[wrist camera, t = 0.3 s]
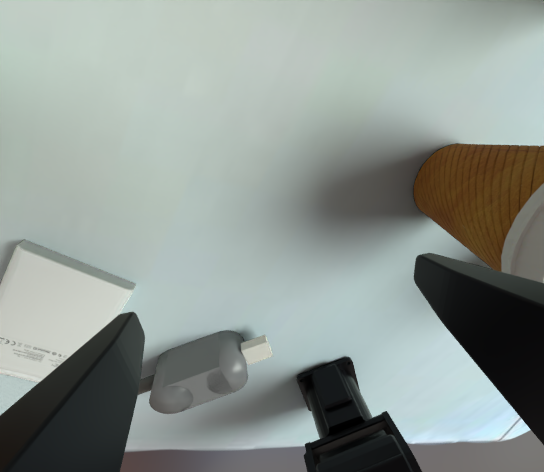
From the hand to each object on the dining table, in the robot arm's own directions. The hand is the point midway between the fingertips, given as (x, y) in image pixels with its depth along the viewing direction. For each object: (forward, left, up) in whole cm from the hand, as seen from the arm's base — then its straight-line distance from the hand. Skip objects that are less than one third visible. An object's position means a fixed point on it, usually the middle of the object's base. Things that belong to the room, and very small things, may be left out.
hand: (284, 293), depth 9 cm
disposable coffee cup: (-6, -16, -14) cm, 22 cm away
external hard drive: (-6, +19, -15) cm, 24 cm away
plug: (-15, +10, -14) cm, 23 cm away
